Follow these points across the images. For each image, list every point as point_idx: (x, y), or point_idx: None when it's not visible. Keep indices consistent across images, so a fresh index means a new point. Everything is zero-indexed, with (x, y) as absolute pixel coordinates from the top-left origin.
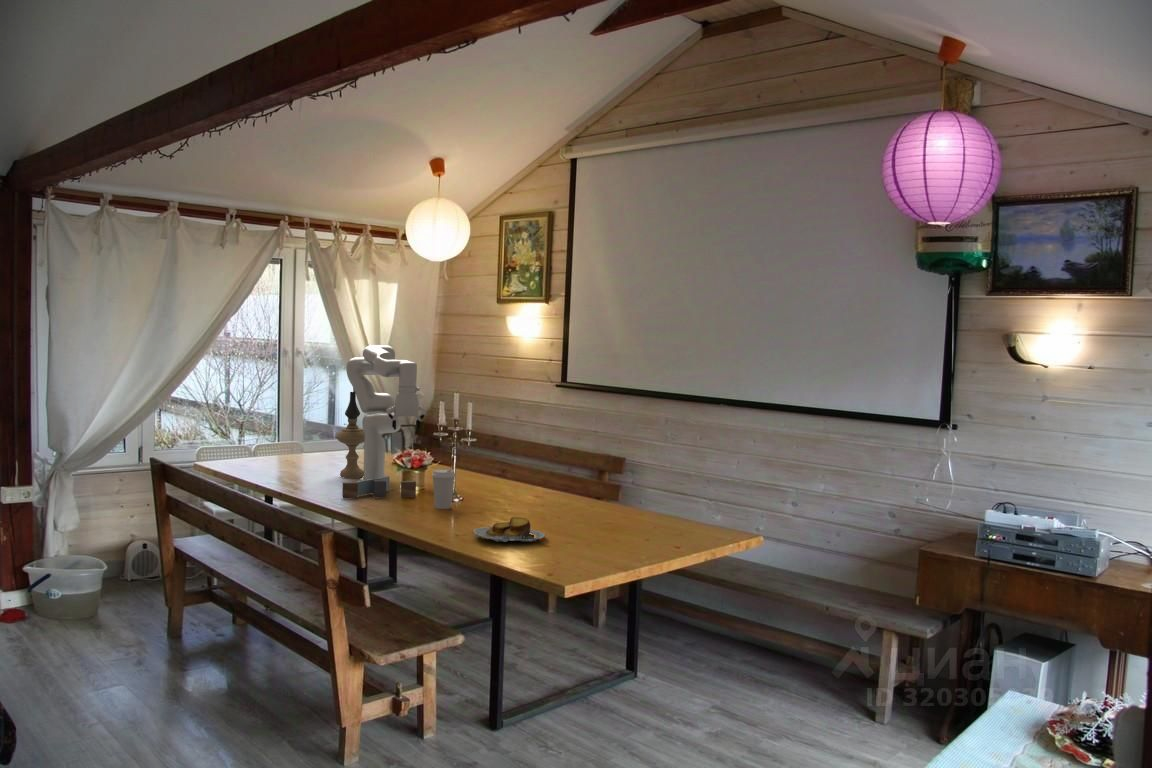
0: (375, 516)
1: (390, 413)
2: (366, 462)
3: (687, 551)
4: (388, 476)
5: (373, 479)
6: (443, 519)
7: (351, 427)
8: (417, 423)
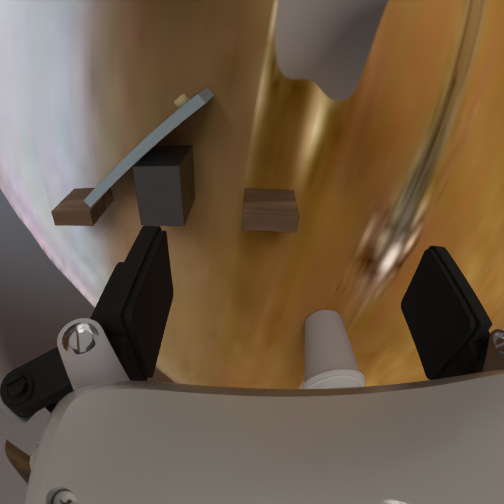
0: (173, 355)
1: (37, 439)
2: None
3: None
4: (201, 102)
5: (136, 187)
6: (289, 383)
7: None
8: (423, 360)
